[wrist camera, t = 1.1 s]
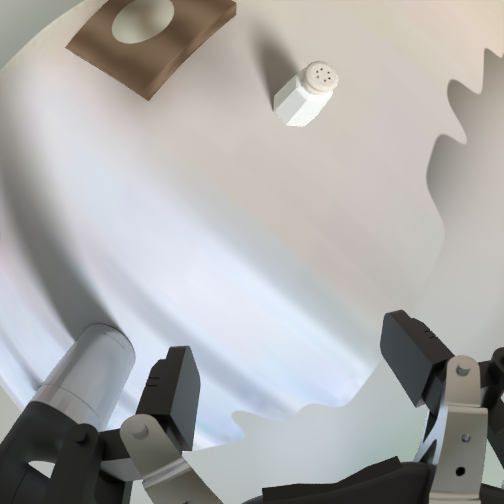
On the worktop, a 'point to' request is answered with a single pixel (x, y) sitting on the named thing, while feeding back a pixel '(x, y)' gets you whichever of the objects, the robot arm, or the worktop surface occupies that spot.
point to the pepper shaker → (305, 94)
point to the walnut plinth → (148, 38)
